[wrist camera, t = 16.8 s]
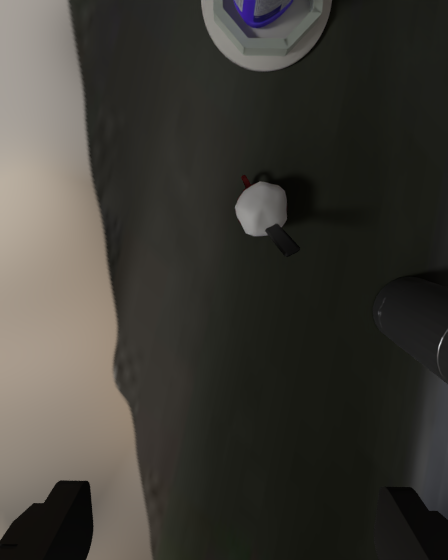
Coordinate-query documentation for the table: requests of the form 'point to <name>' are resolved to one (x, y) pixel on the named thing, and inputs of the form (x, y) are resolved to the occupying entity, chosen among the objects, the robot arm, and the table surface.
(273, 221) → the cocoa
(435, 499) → the table surface
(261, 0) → the bottle
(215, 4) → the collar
